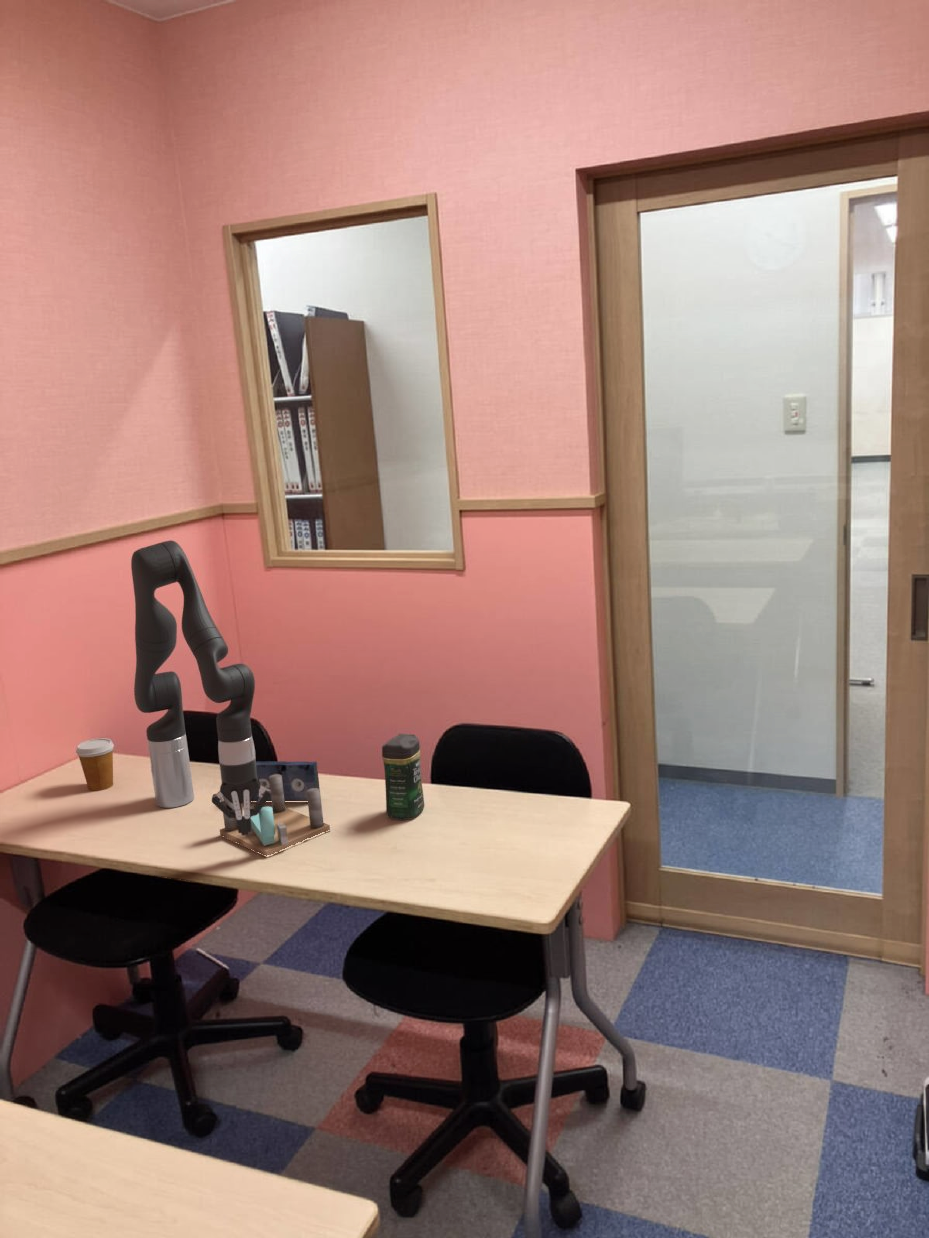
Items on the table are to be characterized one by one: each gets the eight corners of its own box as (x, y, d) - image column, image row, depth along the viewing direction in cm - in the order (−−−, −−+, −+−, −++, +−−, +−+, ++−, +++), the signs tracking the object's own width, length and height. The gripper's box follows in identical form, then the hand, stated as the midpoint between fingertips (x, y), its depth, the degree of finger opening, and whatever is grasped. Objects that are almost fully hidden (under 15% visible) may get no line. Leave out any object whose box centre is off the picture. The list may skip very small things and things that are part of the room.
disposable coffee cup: (93, 780, 273) (86, 738, 270) (125, 779, 271) (119, 737, 269) (75, 793, 264) (68, 750, 261) (109, 793, 262) (102, 749, 260)
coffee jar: (414, 822, 230) (407, 745, 226) (382, 819, 233) (375, 743, 229) (429, 805, 239) (423, 731, 235) (399, 803, 242) (392, 730, 238)
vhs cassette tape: (321, 799, 248) (317, 760, 246) (317, 803, 245) (313, 765, 243) (252, 797, 252) (247, 760, 250) (247, 802, 249) (242, 764, 247)
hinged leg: (246, 823, 232) (242, 789, 230) (259, 820, 233) (255, 786, 231) (264, 848, 217) (260, 813, 216) (278, 845, 219) (273, 809, 217)
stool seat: (220, 835, 230) (215, 794, 228) (281, 811, 242) (277, 772, 240) (269, 858, 216) (264, 815, 214) (332, 831, 228) (327, 790, 226)
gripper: (203, 766, 209) (212, 844, 213) (268, 759, 211) (276, 836, 215) (206, 755, 216) (215, 830, 220) (269, 748, 219) (276, 823, 222)
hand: (245, 833), depth 217 cm, fingers closed
